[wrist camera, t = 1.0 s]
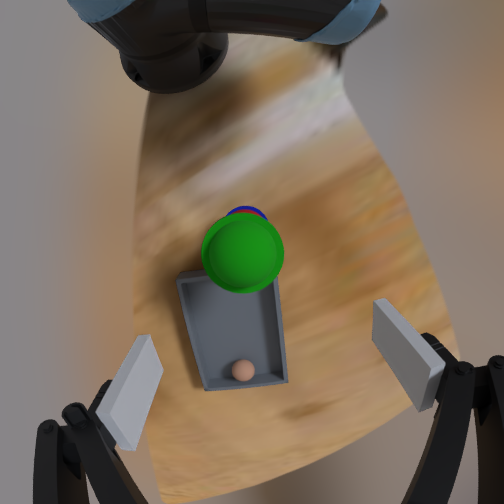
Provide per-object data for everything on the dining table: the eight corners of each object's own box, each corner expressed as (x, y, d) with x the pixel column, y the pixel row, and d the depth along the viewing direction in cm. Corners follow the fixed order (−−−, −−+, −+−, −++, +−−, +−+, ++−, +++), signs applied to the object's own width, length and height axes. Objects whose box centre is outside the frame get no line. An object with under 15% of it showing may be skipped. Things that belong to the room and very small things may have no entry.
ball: (230, 356, 43) (229, 369, 40) (252, 353, 43) (253, 366, 40) (234, 373, 44) (233, 386, 40) (255, 370, 44) (256, 384, 40)
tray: (180, 272, 40) (175, 279, 37) (274, 260, 40) (276, 266, 37) (206, 379, 45) (204, 391, 42) (285, 371, 45) (288, 382, 42)
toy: (210, 256, 40) (191, 300, 25) (218, 199, 38) (201, 211, 23) (267, 264, 40) (279, 312, 26) (277, 207, 38) (296, 226, 24)
